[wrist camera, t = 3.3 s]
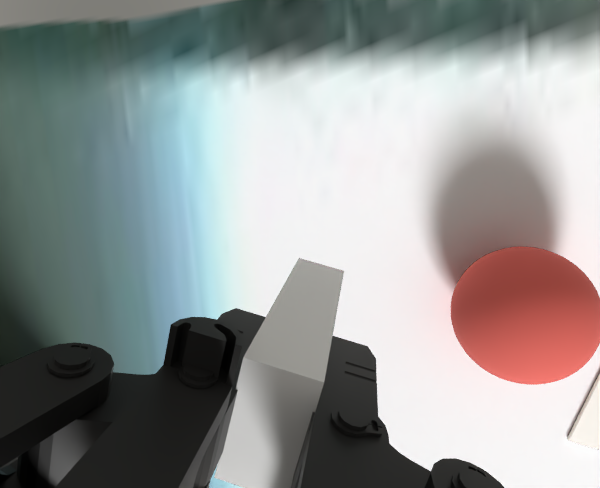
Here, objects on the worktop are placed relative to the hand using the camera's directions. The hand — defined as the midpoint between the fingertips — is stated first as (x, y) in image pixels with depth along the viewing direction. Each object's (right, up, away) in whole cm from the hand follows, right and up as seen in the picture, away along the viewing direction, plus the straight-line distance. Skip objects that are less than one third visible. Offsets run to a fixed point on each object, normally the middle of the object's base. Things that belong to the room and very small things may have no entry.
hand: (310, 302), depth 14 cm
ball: (+10, -1, +5) cm, 11 cm away
